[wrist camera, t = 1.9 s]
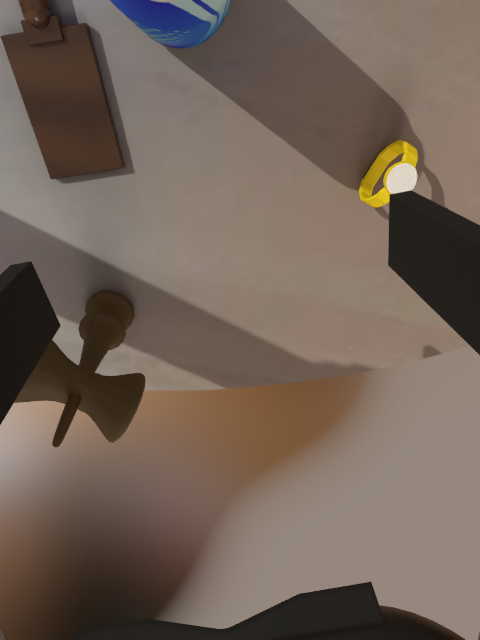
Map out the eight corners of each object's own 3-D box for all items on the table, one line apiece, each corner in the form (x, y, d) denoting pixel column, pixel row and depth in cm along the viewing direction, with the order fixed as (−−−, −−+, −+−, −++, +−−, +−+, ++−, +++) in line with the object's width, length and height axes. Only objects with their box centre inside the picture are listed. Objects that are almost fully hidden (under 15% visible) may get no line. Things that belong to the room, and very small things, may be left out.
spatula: (-81, -207, 26) (-101, -227, 25) (23, -223, 26) (11, -244, 25) (53, 177, 38) (46, 182, 37) (124, 166, 38) (121, 170, 37)
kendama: (138, 347, 48) (102, 493, 31) (58, 310, 45) (-31, 450, 28) (162, 308, 46) (138, 443, 29) (80, 267, 43) (-3, 390, 26)
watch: (367, 203, 42) (390, 219, 37) (346, 190, 41) (366, 204, 36) (406, 148, 39) (436, 157, 34) (384, 133, 39) (412, 140, 33)
